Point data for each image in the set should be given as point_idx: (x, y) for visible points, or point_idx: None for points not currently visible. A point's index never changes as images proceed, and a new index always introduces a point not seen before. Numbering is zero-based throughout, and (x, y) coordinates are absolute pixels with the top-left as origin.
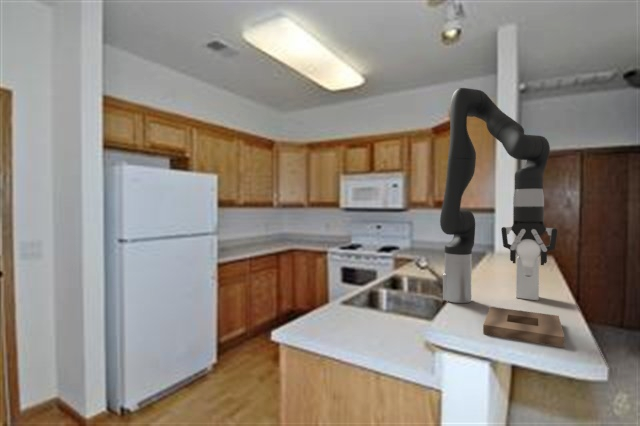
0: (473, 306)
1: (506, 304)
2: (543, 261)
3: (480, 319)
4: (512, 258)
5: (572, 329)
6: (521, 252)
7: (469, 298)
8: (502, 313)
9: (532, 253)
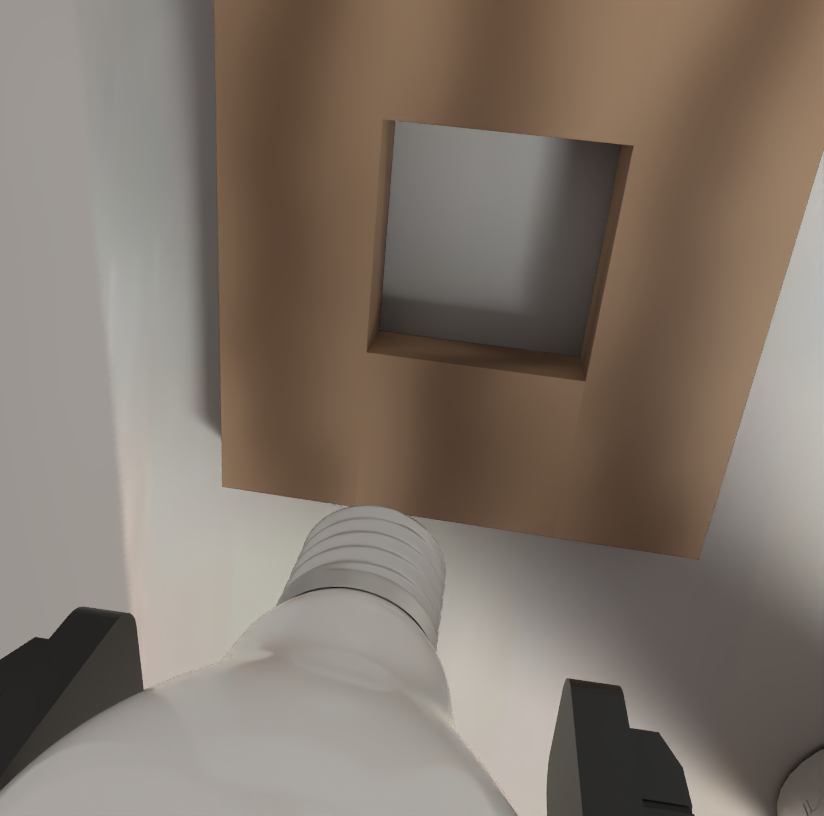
0: (780, 688)
1: (526, 788)
2: (50, 645)
3: (791, 369)
4: (636, 781)
5: (171, 376)
6: (452, 791)
7: (810, 792)
8: (629, 393)
9: (160, 715)
